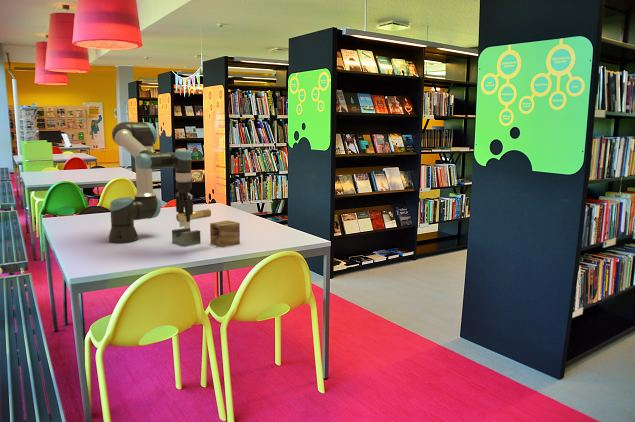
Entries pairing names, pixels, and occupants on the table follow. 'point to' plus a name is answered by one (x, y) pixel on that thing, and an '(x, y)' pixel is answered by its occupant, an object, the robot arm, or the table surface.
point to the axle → (194, 215)
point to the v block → (186, 237)
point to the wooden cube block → (225, 233)
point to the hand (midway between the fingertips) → (184, 227)
